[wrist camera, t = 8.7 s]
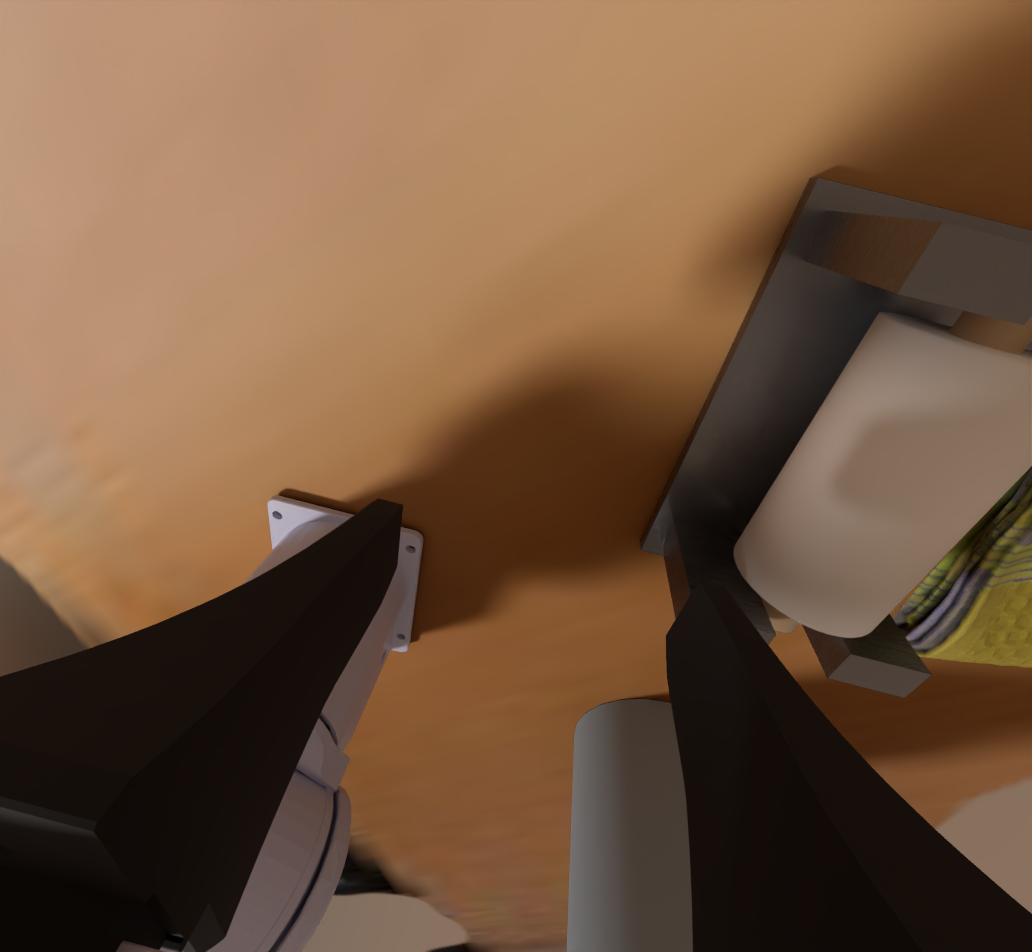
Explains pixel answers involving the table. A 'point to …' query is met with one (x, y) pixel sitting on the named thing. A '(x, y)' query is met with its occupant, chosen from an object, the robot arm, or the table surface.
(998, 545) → the dish towel
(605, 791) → the spray bottle
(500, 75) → the table surface
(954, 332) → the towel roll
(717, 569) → the roll holder
